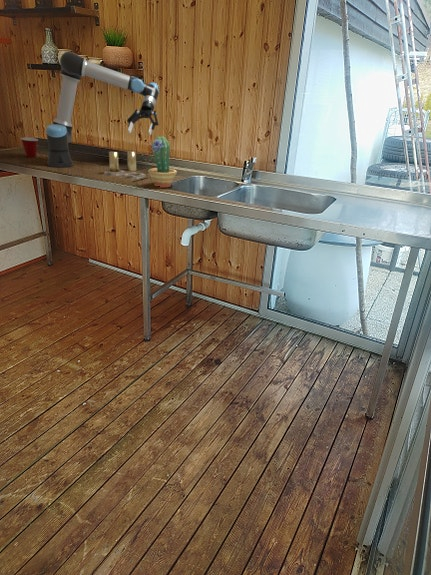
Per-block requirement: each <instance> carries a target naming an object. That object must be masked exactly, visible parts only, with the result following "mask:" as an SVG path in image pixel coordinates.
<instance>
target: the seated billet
mask: <svg viewBox="0 0 431 575" xmlns="http://www.w3.org/2000/svg"><path fill="white" fill-rule="evenodd" d="M108 159H109V162H108V163H109V170H110V172H114V173H117V172H119V170H120V165H119V152H118V151H108Z"/></svg>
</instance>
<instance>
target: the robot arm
mask: <svg viewBox="0 0 431 575" xmlns="http://www.w3.org/2000/svg"><path fill="white" fill-rule="evenodd" d="M59 64H60V66H61V70H60V75H61V77H62V79H61V80H62V81H61V82H62V83H61V86H60V93H59V100H58V107H57V112H56V118H55V119H54V120H52V122H53V123H52V124H49V125H47V126H46V130H45V132H46V140H47V146H48V156H47V161H46V164H47V166H48V167H51V168H68V167H72V166H74V162H73V160H72V158H71V157H72V156H71V154H70V151H69V143H70V142H71V141H72V138H73V133H72V131H73V124H72V116H73V111H74V105H75V100H76V93H77V87H78V83H79V82H81V80H82V77H84V76H85V77H90V78H92V79H95V80H98V81H100V82H104V83H106V84H109V85H113V86H116V87H119V88H122V89H124V90H128V91H129V92H133V93H136V94H140V95H142V96H143V97H144V98H143V99H142V100H143V101H142V103H141V106H140V107H141V108H140V109H139V110H138V109H137V108H136V109H135V110H134V112H133V113H132V114H131V115H130V116H129V117H128V118H127V119H126V121H127V123H128V125H127V126H128V129H127V132H128V133H129V134H131V133H132V131H133V127H134V124H135V123H136V122H137V121H139V120H142V119H149V121H150V122H151V123H150V126H149V128H148V129H149V130H148V134H149V136H151V135H152V133H153V131H154V130H155V128H156V126H159V125H160V124H159V121H158V116H157V115H158V113H157V110H155V106H156V103H157V100H158V97H159V95H158V94H160V91H159V89H158V86H159V85H157V83H156V82H149V83H147V82H145V81H143V80H142V79H140V78H137V77H135V76H132V75H128V74H126V73H123V72H120V71H116V70H114V69H112V68H111V69H110V68H107V67H105V66H101V65H99V64H96V63H93V62H91V61H87V59H86V58H85V57H83V56H80V55H79V54H77V53H76V52H73V51H65V52H64V53H62V54H61V56H60V59H59ZM152 116H153V117H154V119H153V118H152Z"/></svg>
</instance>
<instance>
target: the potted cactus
mask: <svg viewBox="0 0 431 575" xmlns="http://www.w3.org/2000/svg"><path fill="white" fill-rule="evenodd" d="M150 147H151V148H152V154H153V158H154V160H155V163H156V167H154V168H153V167H152V168H150V169H148V170H147V172H148V174H149V175H150V177H151V180H152V182H153V183H154V185H155V186H154V187H156V186H160V187H159V188H169V187H171V186H172V182H173V181H174V180H175V176H176V175H177V173H178V171H177V170H176V169H172V168H170V160H169V158H170V154H171V145H170V143H169V141H168V139H167V137H165V136H157V137H156V138H155V139H154V141H153V142H152V144H151V146H150Z"/></svg>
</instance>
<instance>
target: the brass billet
mask: <svg viewBox="0 0 431 575" xmlns="http://www.w3.org/2000/svg"><path fill="white" fill-rule="evenodd" d="M126 157H127V171H129V172H136V171H137V151H133V150H131V151H130V150H128V151H127V156H126Z"/></svg>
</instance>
